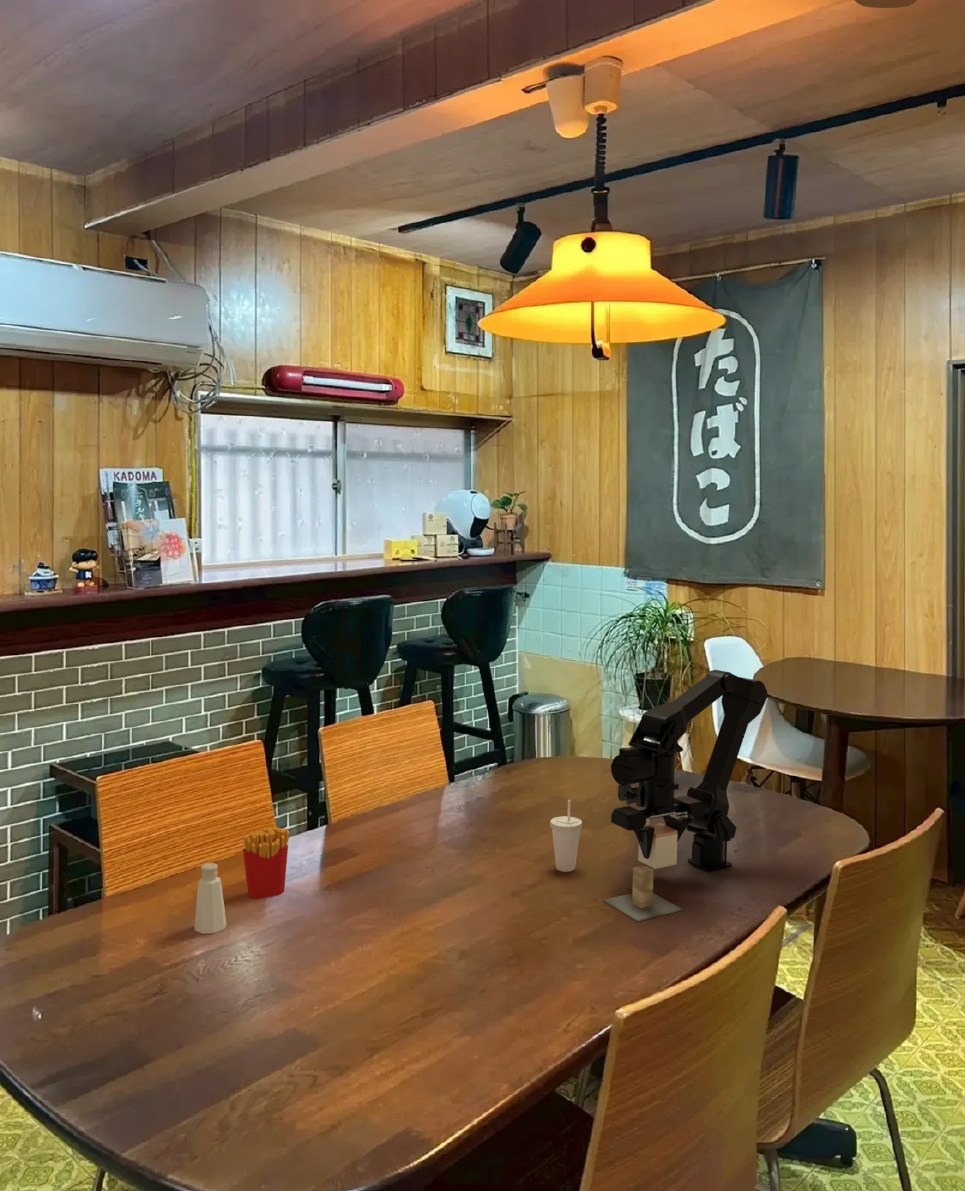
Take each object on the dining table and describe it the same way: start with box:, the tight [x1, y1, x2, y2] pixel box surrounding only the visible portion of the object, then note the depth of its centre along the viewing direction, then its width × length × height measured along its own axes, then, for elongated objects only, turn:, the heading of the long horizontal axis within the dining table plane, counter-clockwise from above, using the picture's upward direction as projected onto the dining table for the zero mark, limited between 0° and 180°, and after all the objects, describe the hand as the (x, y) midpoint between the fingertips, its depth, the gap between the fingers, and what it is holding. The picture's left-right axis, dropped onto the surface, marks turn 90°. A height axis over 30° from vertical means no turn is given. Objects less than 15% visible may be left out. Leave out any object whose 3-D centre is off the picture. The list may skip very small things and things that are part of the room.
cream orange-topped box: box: [637, 822, 678, 870], centre depth 191 cm, size 5×5×7 cm
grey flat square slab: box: [603, 864, 683, 923], centre depth 179 cm, size 10×10×7 cm
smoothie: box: [549, 799, 583, 873], centre depth 197 cm, size 6×6×14 cm
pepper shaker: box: [193, 862, 227, 935], centre depth 169 cm, size 5×5×11 cm
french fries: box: [242, 826, 291, 899], centre depth 184 cm, size 8×4×12 cm, turn 118°
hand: (657, 855), depth 191 cm, fingers closed on cream orange-topped box, 5 cm apart
